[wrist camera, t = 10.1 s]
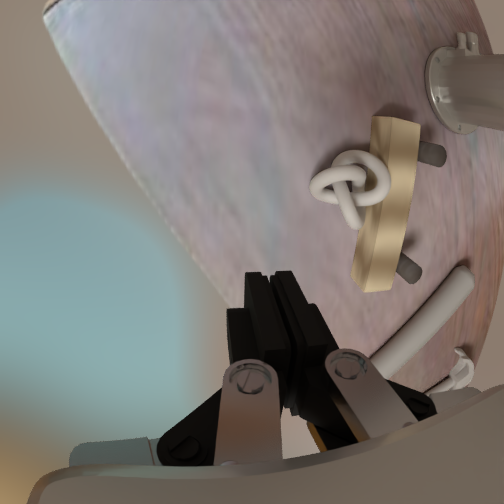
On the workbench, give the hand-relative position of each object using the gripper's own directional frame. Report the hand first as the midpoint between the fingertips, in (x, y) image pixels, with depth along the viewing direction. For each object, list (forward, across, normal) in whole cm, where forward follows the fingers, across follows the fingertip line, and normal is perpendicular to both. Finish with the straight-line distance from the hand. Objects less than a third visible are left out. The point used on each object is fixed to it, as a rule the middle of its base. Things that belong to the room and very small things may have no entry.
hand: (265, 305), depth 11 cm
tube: (+21, -31, +21) cm, 43 cm away
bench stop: (+20, -19, +1) cm, 28 cm away
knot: (+21, -12, 0) cm, 24 cm away
